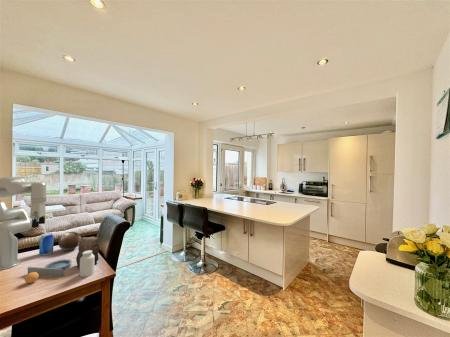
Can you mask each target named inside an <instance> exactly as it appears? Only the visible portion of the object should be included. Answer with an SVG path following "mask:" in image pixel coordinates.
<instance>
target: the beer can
mask: <svg viewBox="0 0 450 337" xmlns="http://www.w3.org/2000/svg"><path fill="white" fill-rule="evenodd" d="M54 239H55V238H54V234H53V233H52V232H47V233H43V234H41V236H40V237H39V245H38V246H39V249H38V250H39V251H38V253H39V255H40V256H41V255H44V256H48V254H49V255H50V254H52V253H53V252H54Z"/></svg>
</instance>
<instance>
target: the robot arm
mask: <svg viewBox="0 0 450 337" xmlns="http://www.w3.org/2000/svg"><path fill="white" fill-rule="evenodd" d="M25 180H26V179H24V178H23V177H20V176H7V177H0V198H8V197H9V198H10V197H13V196H16V195H23V194H24V195H25V194H30V204H31V206H30V212H29V216H28V214H27V212H26V210H25V209H24V208H23V207H20V206H19V207H18V206H16V207H8V205H7V204H6V202H5V201H3V200H2V199H0V271H2V270H7V269H10V268H15V267H16V266H18V265H19V264H21V263H22V262H21V260H20V259H18V257H19V254H18V253H19V252H18V251H19V250H18V249H19V238H18V237H16V236H15V235H16V234H18V233H22V232H26V231H28V230H30V229H31V228H34V229H35V228H39V227H40V225H44V224H45V223H46V203H47V184H46V182H37V181H32V182H31V181H29V182H26V181H25ZM30 219H31V220H30Z"/></svg>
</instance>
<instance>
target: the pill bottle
mask: <svg viewBox="0 0 450 337" xmlns="http://www.w3.org/2000/svg"><path fill="white" fill-rule="evenodd" d="M82 255H83V256H82V257H81V258H80V270H79V276H80V278H81V277H82V278H86V277H90V276H92V275H93V274H94V273H95V266H94V260H95V256H94V255H93V254H92V251H91V250H88V251H84V252H83V253H82Z"/></svg>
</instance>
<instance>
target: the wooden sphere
mask: <svg viewBox="0 0 450 337" xmlns="http://www.w3.org/2000/svg"><path fill="white" fill-rule="evenodd" d="M81 237H82V236H81V235H80V234H79V233H78V232H75V231H70V232H66V233H65V234H63V235H61V237H59V240H58V247H59V248H60V249H61V250H63V251H72V250H74V249H76V248H78V245H79V243H80V241H81V239H80V238H81Z"/></svg>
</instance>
